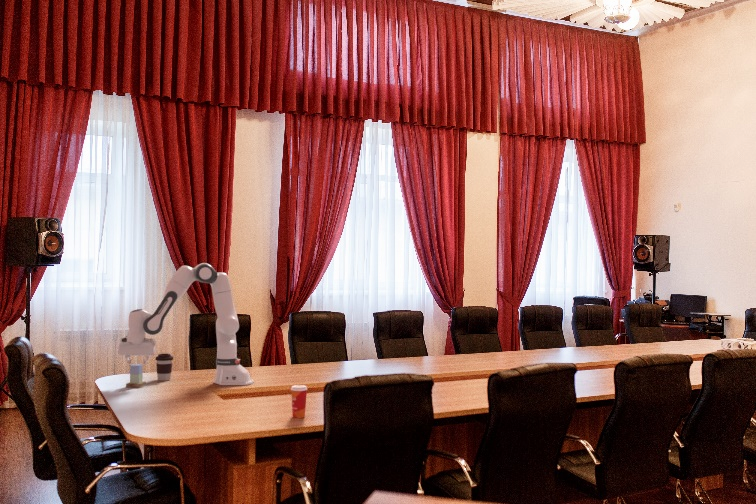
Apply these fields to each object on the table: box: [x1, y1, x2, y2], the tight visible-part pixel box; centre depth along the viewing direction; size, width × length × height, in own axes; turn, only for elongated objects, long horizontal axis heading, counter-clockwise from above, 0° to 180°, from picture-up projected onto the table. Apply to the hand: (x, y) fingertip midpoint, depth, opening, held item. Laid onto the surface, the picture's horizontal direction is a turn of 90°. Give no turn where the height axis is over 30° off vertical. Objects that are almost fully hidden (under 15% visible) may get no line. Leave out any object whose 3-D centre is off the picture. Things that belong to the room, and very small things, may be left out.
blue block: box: [129, 363, 144, 375], centre depth 386 cm, size 5×5×5 cm
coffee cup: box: [155, 353, 174, 382], centre depth 406 cm, size 10×10×15 cm
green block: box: [129, 373, 143, 384], centre depth 386 cm, size 5×5×5 cm
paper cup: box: [290, 384, 308, 419], centre depth 319 cm, size 8×8×14 cm
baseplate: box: [125, 381, 147, 389], centre depth 386 cm, size 8×8×2 cm
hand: (137, 363), depth 386 cm, fingers open, 8 cm apart
